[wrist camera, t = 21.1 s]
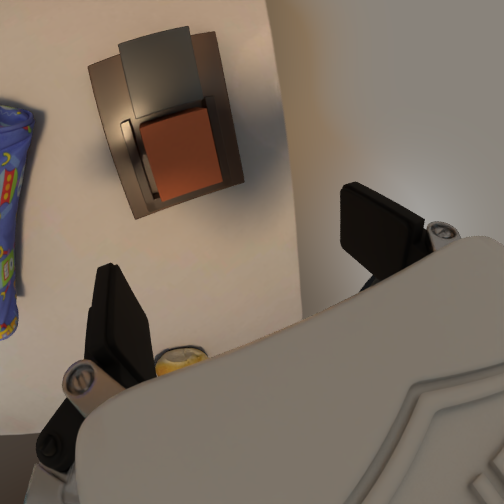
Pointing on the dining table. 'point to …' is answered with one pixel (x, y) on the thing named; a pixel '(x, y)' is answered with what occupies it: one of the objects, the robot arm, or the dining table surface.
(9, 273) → the pencil case
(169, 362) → the bread roll
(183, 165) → the orange block
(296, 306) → the dining table surface
